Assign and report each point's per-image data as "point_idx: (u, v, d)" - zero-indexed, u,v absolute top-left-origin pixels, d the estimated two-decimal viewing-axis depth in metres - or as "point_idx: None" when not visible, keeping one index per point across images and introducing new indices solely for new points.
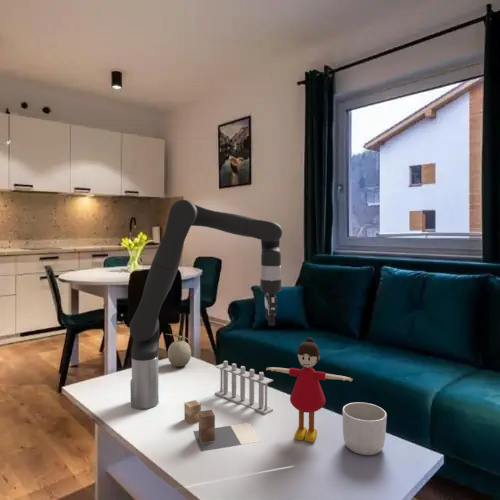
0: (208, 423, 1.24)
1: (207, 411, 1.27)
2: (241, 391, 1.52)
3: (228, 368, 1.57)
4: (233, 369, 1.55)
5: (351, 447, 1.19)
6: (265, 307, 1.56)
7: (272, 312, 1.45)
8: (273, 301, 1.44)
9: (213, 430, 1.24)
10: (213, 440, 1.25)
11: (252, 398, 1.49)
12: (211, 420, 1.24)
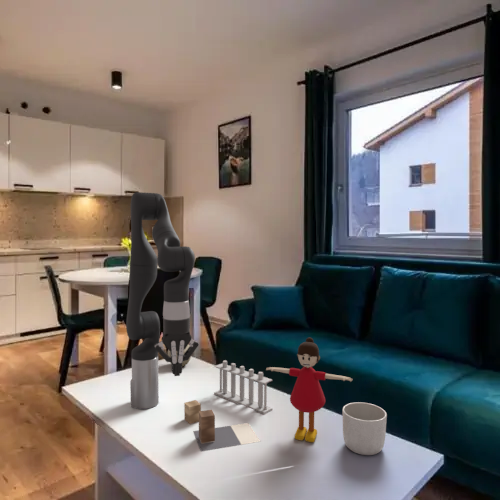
0: (208, 423, 1.24)
1: (207, 411, 1.27)
2: (240, 391, 1.53)
3: (227, 368, 1.57)
4: (232, 368, 1.55)
5: (351, 447, 1.19)
6: (174, 361, 1.20)
7: None
8: None
9: (213, 430, 1.24)
10: (213, 440, 1.25)
11: (251, 398, 1.50)
12: (211, 420, 1.24)
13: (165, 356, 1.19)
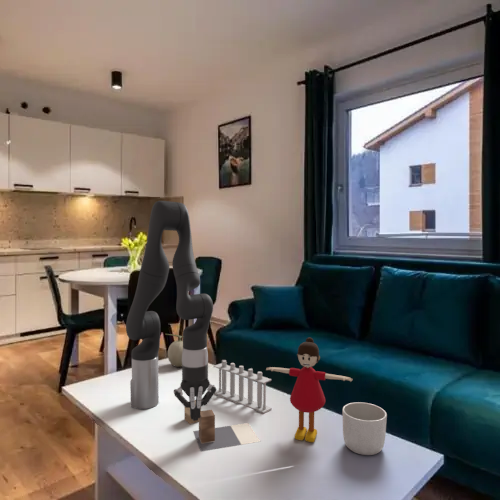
0: (208, 423, 1.24)
1: (207, 411, 1.27)
2: (240, 390, 1.53)
3: (227, 368, 1.57)
4: (232, 368, 1.55)
5: (351, 447, 1.19)
6: (193, 406, 1.23)
7: None
8: None
9: (213, 430, 1.24)
10: (213, 440, 1.25)
11: (251, 397, 1.50)
12: (211, 420, 1.24)
13: (184, 402, 1.22)
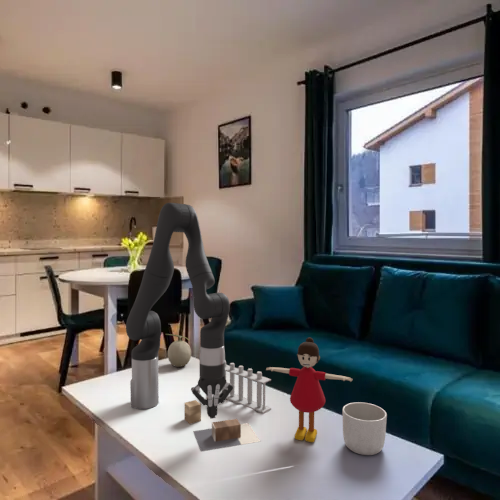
0: (233, 432, 1.26)
1: None
2: (239, 390, 1.53)
3: (226, 367, 1.58)
4: (231, 368, 1.55)
5: (351, 447, 1.19)
6: (210, 404, 1.24)
7: None
8: None
9: (226, 438, 1.26)
10: (216, 440, 1.25)
11: (250, 397, 1.50)
12: (236, 434, 1.27)
13: (201, 400, 1.24)
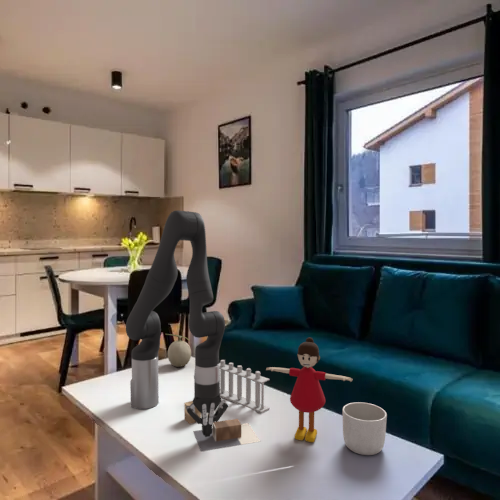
0: (234, 432, 1.27)
1: None
2: (238, 390, 1.53)
3: (225, 367, 1.58)
4: (230, 368, 1.56)
5: (351, 447, 1.19)
6: (205, 422, 1.24)
7: None
8: None
9: (226, 438, 1.26)
10: (216, 439, 1.25)
11: (249, 397, 1.50)
12: (236, 434, 1.27)
13: (196, 418, 1.23)
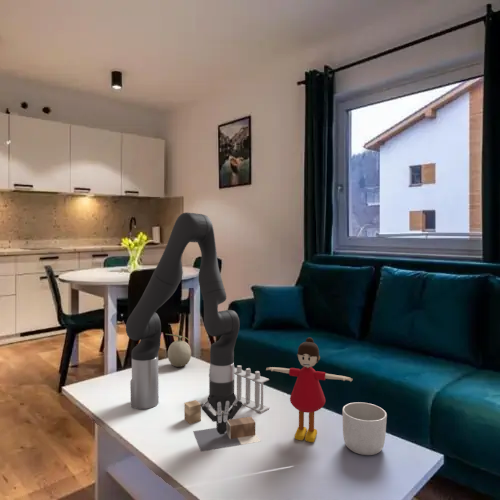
0: (248, 430, 1.28)
1: None
2: (237, 390, 1.53)
3: None
4: None
5: (351, 447, 1.19)
6: (220, 420, 1.26)
7: None
8: None
9: (241, 436, 1.27)
10: (231, 437, 1.26)
11: (248, 397, 1.50)
12: (250, 432, 1.28)
13: (211, 416, 1.25)
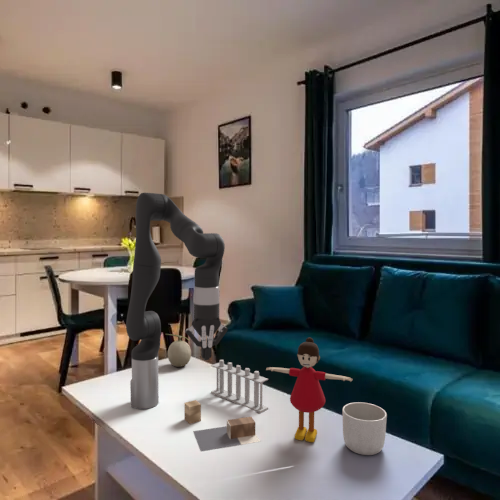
0: (248, 430, 1.28)
1: None
2: (237, 390, 1.53)
3: (224, 367, 1.58)
4: (229, 368, 1.56)
5: (351, 447, 1.19)
6: (204, 345, 1.23)
7: None
8: None
9: (241, 436, 1.27)
10: (231, 437, 1.26)
11: (247, 397, 1.50)
12: (250, 432, 1.28)
13: (195, 340, 1.22)
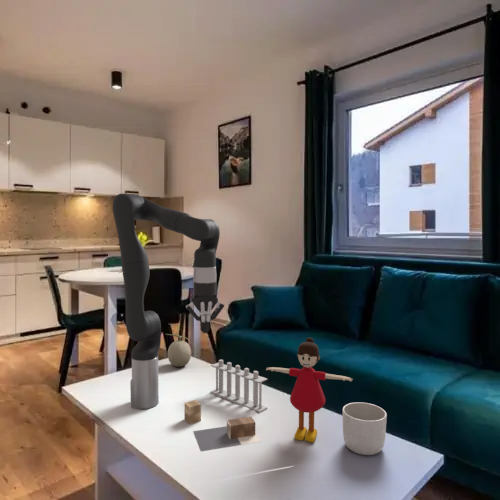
0: (248, 430, 1.28)
1: None
2: (236, 390, 1.54)
3: (223, 367, 1.58)
4: (228, 368, 1.56)
5: (351, 447, 1.19)
6: (203, 319, 1.37)
7: None
8: None
9: (241, 436, 1.27)
10: (231, 437, 1.26)
11: (247, 397, 1.51)
12: (250, 432, 1.28)
13: (195, 315, 1.36)
